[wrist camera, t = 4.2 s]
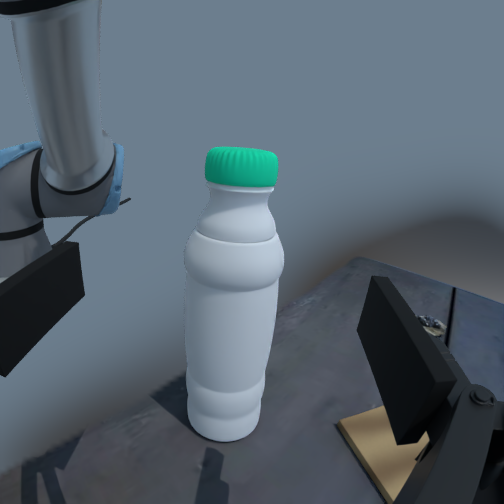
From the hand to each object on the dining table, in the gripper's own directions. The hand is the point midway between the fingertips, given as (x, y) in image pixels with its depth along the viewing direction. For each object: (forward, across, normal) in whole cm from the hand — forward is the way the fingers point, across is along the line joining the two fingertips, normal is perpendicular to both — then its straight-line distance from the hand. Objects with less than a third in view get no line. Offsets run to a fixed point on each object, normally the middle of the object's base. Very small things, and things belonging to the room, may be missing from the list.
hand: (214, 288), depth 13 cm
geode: (+30, +32, -20) cm, 48 cm away
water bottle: (+9, 0, -20) cm, 22 cm away
